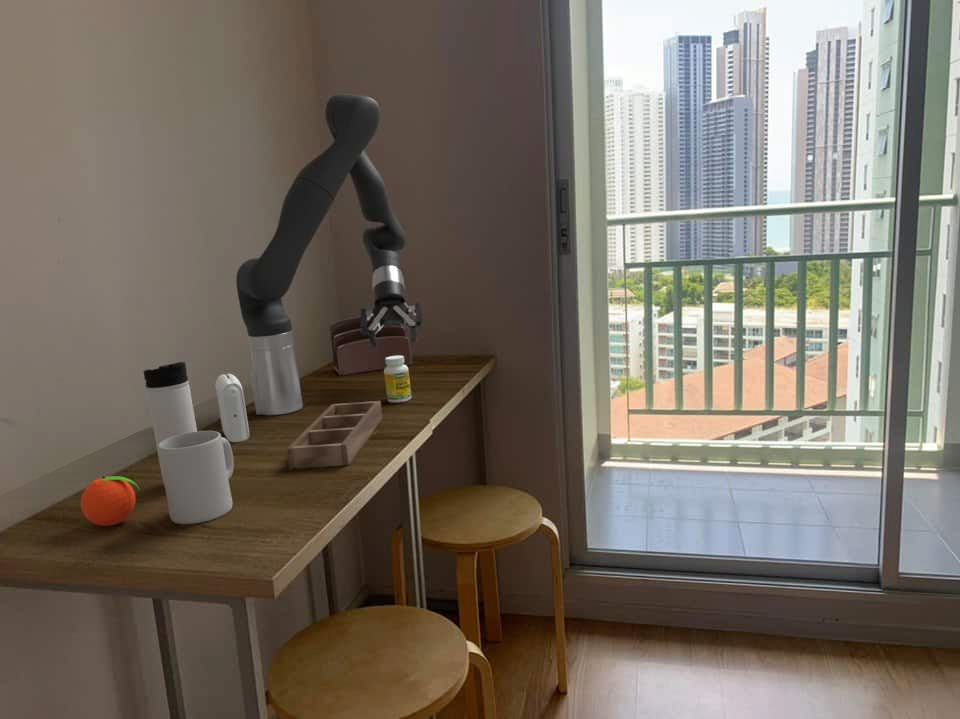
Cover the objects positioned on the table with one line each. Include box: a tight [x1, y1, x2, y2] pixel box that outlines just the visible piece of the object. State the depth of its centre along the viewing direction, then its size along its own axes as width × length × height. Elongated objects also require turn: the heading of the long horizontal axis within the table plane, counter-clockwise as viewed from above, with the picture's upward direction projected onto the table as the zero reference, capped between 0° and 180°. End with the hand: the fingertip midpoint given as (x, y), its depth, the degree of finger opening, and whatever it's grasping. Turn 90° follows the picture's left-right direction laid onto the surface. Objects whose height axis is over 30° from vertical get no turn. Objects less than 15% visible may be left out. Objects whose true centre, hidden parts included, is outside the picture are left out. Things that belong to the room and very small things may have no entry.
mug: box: [157, 430, 235, 525], centre depth 107 cm, size 12×8×11 cm
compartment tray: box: [286, 400, 383, 470], centre depth 135 cm, size 10×28×4 cm, turn 176°
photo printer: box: [215, 373, 250, 443], centre depth 144 cm, size 10×4×12 cm, turn 27°
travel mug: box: [143, 361, 198, 488], centre depth 117 cm, size 6×7×20 cm
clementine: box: [80, 475, 141, 527], centre depth 104 cm, size 8×7×7 cm
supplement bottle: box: [383, 356, 412, 404], centre depth 161 cm, size 5×5×10 cm
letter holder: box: [329, 315, 413, 377], centre depth 200 cm, size 10×20×14 cm, turn 109°
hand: (394, 344), depth 166 cm, fingers open, 8 cm apart
